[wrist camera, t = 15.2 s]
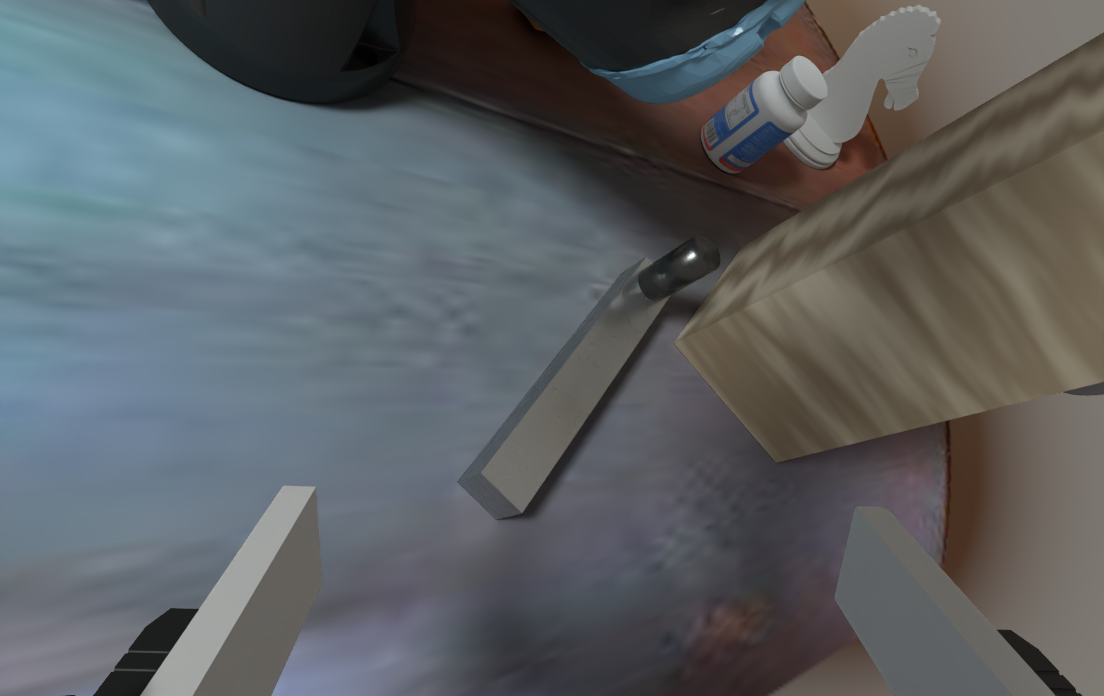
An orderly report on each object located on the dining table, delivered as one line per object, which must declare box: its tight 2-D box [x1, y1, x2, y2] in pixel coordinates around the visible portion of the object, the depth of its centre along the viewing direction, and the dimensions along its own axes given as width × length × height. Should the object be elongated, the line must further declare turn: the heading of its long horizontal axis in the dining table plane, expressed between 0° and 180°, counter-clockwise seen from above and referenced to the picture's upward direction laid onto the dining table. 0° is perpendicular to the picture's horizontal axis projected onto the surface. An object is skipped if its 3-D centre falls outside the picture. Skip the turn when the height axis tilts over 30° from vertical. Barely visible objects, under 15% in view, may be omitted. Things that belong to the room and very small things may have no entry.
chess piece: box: [783, 4, 941, 169], centre depth 64 cm, size 10×10×15 cm
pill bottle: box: [701, 56, 827, 173], centre depth 56 cm, size 6×5×10 cm
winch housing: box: [674, 33, 1104, 463], centre depth 42 cm, size 14×16×30 cm
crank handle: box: [457, 235, 720, 520], centre depth 39 cm, size 20×3×8 cm, turn 144°
